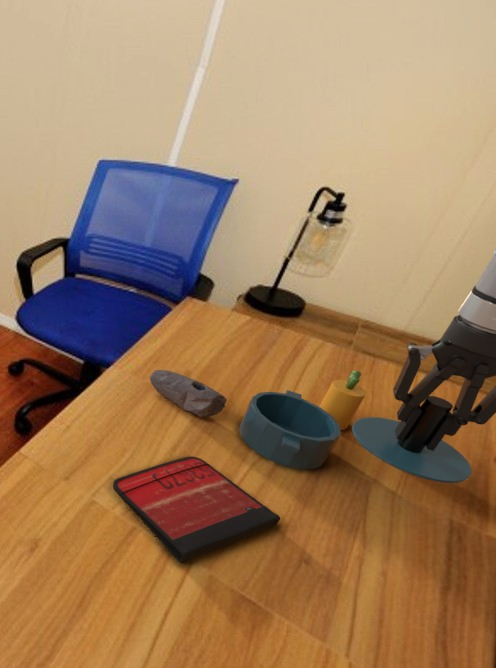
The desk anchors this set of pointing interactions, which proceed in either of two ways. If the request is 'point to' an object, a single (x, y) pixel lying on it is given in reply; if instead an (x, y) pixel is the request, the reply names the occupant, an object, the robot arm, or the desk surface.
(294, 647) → the desk surface
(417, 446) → the pot lid
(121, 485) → the binder
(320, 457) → the pot
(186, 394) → the perforated stone tool
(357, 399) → the yellow cylinder green stem
